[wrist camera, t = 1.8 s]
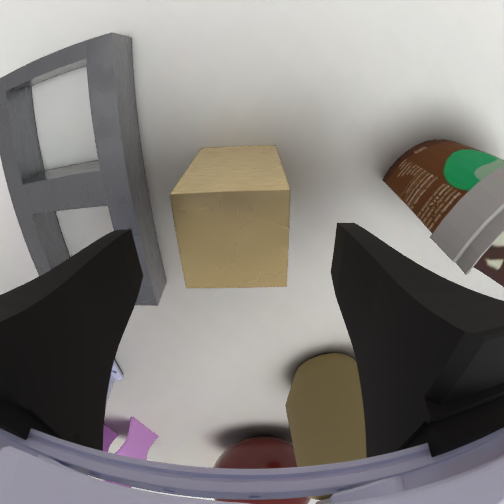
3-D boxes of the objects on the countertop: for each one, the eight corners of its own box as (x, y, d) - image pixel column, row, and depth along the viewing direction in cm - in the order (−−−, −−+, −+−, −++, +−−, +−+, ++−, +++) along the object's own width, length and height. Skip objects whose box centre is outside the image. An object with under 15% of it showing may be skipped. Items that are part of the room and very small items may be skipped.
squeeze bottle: (288, 343, 24) (307, 567, 9) (378, 340, 24) (431, 534, 9) (277, 393, 28) (285, 562, 13) (352, 389, 28) (381, 545, 13)
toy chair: (84, 412, 34) (59, 498, 21) (128, 412, 32) (105, 514, 20) (118, 437, 38) (101, 516, 25) (162, 438, 37) (149, 527, 24)
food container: (514, 178, 16) (603, 246, 7) (478, 241, 19) (551, 327, 10) (407, 81, 13) (542, 110, 5) (362, 169, 16) (457, 270, 8)
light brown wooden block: (275, 211, 18) (286, 286, 12) (207, 213, 18) (186, 288, 12) (275, 145, 16) (290, 189, 10) (201, 148, 16) (169, 194, 10)
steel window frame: (166, 281, 21) (157, 305, 18) (64, 280, 21) (50, 300, 19) (131, 37, 12) (112, 32, 10) (14, 79, 12) (-10, 83, 10)
